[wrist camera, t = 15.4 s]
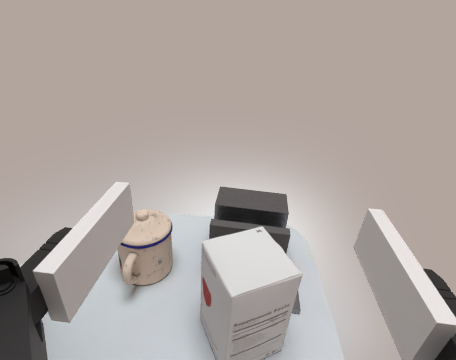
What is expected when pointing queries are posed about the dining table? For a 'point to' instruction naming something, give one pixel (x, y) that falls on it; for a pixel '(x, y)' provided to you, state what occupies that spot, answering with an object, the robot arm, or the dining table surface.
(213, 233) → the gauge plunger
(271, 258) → the supplement box
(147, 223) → the teacup with lid
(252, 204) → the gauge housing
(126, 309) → the dining table surface
